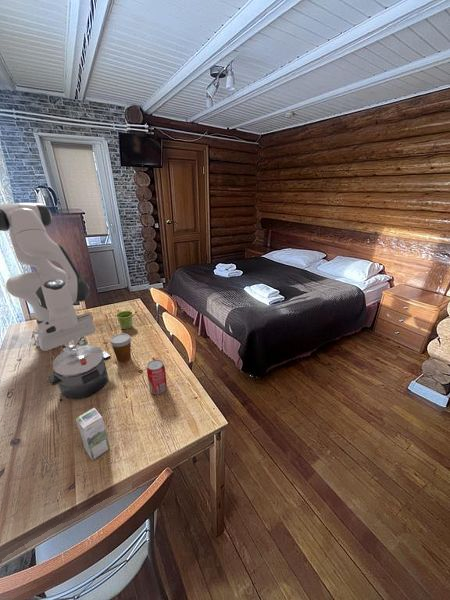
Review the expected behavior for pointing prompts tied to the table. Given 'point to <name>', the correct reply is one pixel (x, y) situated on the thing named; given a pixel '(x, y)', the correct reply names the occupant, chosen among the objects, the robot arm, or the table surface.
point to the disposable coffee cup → (121, 347)
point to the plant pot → (125, 319)
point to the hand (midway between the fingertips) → (72, 349)
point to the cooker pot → (82, 382)
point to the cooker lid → (78, 361)
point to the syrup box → (93, 433)
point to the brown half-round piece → (82, 342)
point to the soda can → (156, 376)
